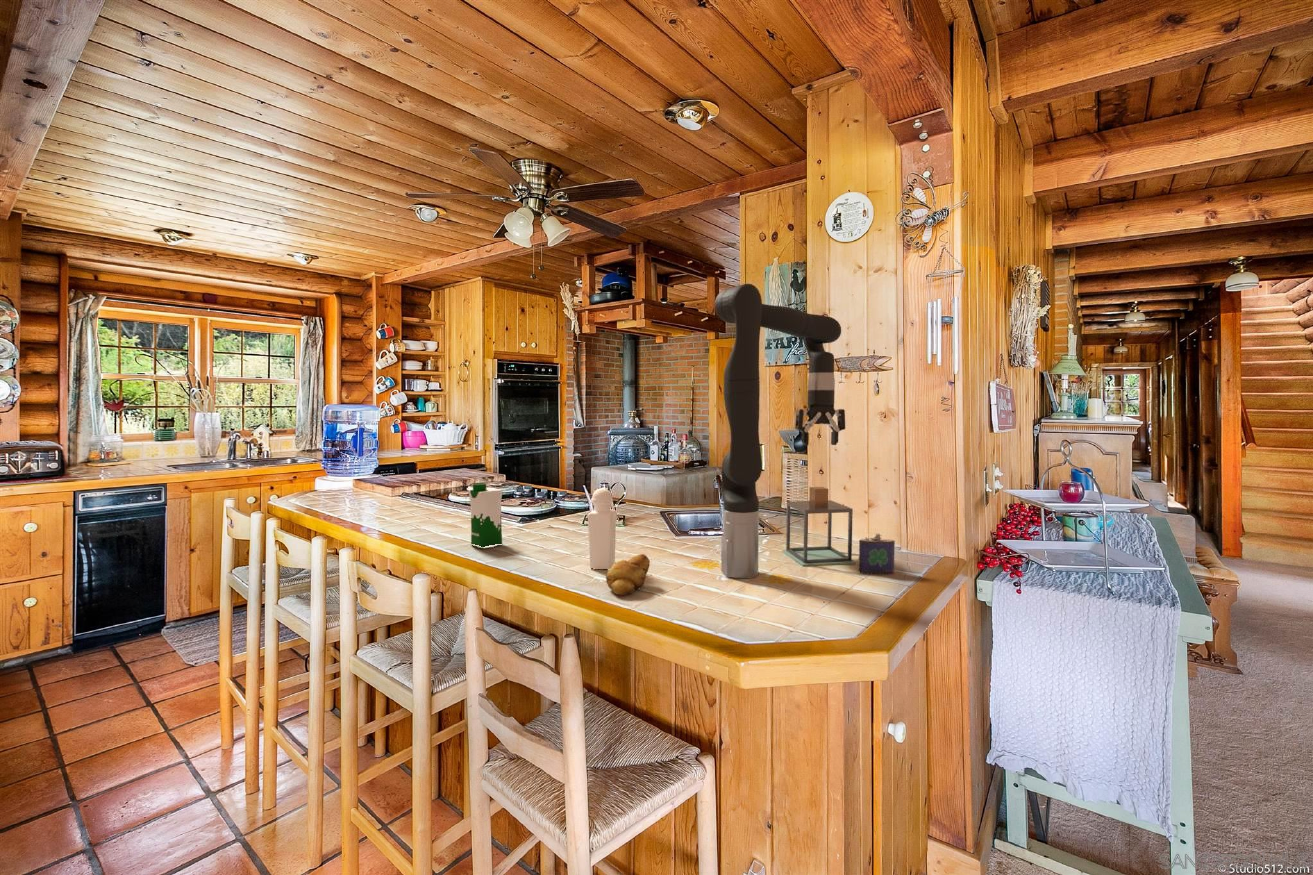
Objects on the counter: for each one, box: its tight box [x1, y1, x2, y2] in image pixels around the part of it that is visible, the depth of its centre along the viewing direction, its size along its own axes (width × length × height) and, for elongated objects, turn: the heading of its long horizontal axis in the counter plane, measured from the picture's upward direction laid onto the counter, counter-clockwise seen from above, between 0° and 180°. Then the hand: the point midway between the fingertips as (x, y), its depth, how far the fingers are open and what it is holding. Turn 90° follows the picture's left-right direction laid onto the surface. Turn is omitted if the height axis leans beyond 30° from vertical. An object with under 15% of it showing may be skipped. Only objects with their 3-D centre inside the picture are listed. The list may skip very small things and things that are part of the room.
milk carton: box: [468, 482, 503, 547], centre depth 187 cm, size 9×9×20 cm
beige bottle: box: [587, 487, 617, 569], centre depth 163 cm, size 6×6×22 cm
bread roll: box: [605, 553, 651, 596], centre depth 144 cm, size 13×10×8 cm
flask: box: [858, 533, 896, 575], centre depth 157 cm, size 9×3×11 cm, turn 88°
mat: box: [781, 549, 858, 567], centre depth 173 cm, size 16×16×1 cm
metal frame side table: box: [785, 486, 854, 563], centre depth 172 cm, size 14×14×20 cm
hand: (819, 445), depth 171 cm, fingers open, 8 cm apart
